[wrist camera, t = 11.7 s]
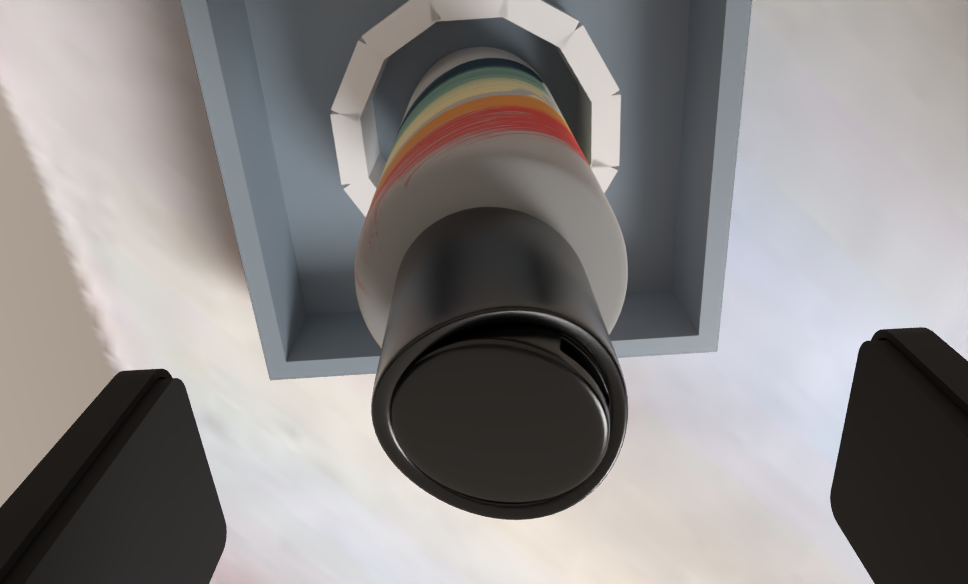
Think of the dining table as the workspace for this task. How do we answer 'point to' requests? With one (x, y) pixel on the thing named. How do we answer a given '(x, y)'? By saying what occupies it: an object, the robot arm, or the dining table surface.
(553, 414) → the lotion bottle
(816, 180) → the dining table surface
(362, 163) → the socket box
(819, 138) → the dining table surface
